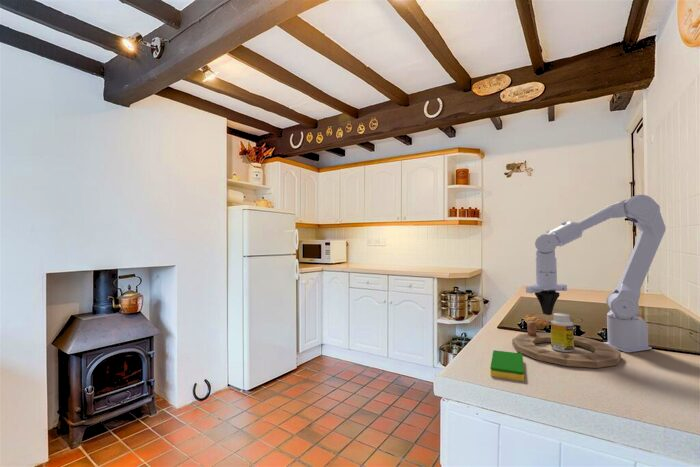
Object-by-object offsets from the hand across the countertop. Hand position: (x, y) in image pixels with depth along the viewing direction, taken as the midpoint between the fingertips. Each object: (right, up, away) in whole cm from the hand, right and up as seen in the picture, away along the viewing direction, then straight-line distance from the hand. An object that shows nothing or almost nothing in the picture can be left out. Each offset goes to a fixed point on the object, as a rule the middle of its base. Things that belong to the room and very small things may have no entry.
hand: (547, 314), depth 107 cm
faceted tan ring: (-3, -8, -12) cm, 15 cm away
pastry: (+5, -8, +14) cm, 17 cm away
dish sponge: (-24, -9, -23) cm, 34 cm away
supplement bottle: (-2, -8, -11) cm, 13 cm away
